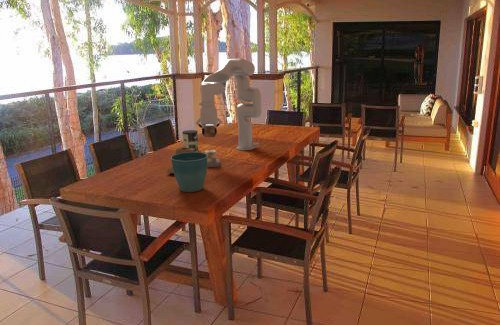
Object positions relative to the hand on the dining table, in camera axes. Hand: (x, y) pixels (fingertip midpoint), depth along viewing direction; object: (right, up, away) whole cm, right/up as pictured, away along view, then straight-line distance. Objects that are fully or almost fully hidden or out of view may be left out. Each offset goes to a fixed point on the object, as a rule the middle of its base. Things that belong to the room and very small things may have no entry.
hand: (209, 134), depth 262 cm
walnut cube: (0, -1, 0) cm, 1 cm away
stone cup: (-14, -23, -12) cm, 29 cm away
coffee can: (-17, -9, +42) cm, 46 cm away
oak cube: (0, -16, +4) cm, 16 cm away
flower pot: (-5, -30, -41) cm, 51 cm away
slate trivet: (0, -18, +5) cm, 19 cm away
